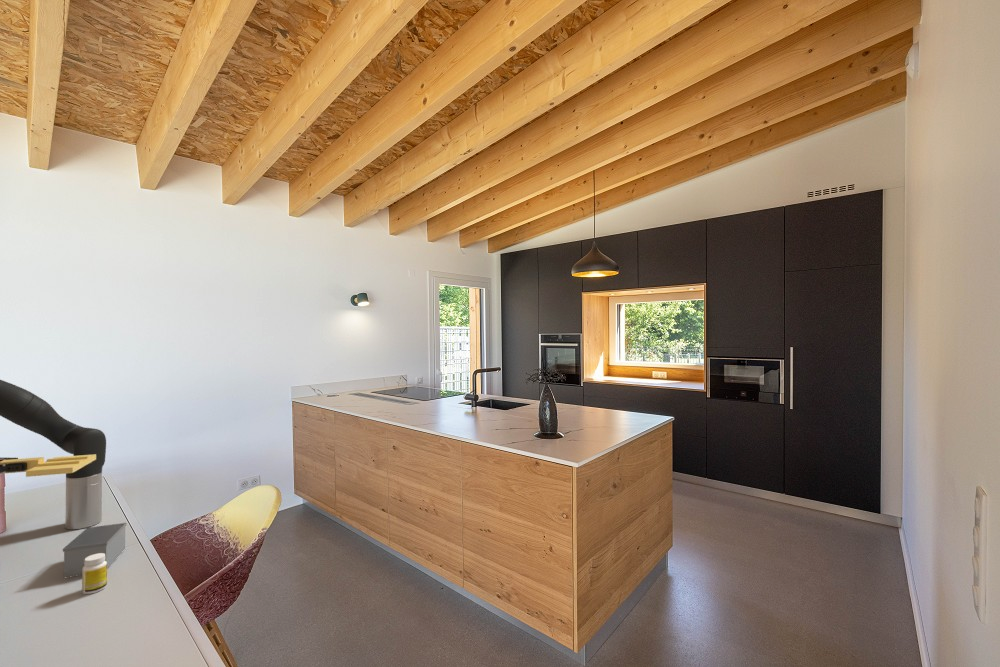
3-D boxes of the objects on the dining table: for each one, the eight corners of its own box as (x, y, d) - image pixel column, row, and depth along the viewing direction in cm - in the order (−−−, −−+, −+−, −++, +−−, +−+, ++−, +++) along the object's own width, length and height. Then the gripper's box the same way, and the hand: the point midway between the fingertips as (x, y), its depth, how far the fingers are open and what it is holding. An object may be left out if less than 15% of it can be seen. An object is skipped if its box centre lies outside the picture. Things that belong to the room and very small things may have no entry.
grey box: (87, 554, 134) (87, 527, 134) (126, 548, 138) (126, 522, 138) (62, 578, 121) (62, 548, 121) (106, 571, 124) (106, 542, 124)
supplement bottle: (111, 586, 117) (111, 554, 117) (89, 596, 113) (90, 562, 113) (99, 582, 119) (99, 551, 119) (77, 592, 114) (77, 559, 114)
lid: (17, 465, 128) (17, 454, 128) (96, 459, 135) (96, 449, 135) (-18, 480, 115) (-17, 468, 115) (72, 472, 122) (72, 461, 122)
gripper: (-79, 464, 110) (15, 457, 117) (-39, 450, 123) (44, 445, 130) (-80, 494, 110) (14, 486, 117) (-39, 477, 123) (44, 471, 130)
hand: (29, 464), depth 124 cm, fingers closed on lid, 3 cm apart
